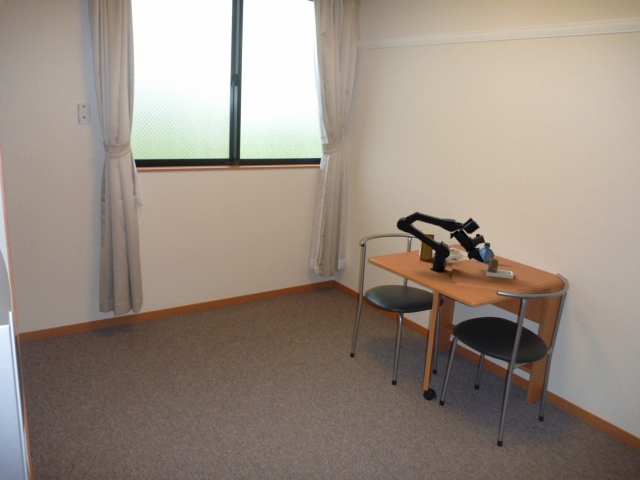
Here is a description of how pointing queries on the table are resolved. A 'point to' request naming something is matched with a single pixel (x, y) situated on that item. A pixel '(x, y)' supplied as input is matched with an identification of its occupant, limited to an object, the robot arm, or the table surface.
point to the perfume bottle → (486, 253)
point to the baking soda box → (426, 248)
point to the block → (493, 265)
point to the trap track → (500, 274)
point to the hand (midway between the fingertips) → (483, 262)
